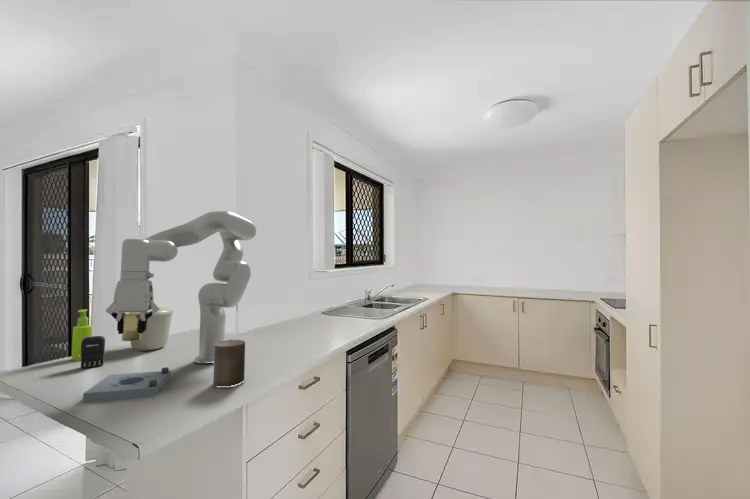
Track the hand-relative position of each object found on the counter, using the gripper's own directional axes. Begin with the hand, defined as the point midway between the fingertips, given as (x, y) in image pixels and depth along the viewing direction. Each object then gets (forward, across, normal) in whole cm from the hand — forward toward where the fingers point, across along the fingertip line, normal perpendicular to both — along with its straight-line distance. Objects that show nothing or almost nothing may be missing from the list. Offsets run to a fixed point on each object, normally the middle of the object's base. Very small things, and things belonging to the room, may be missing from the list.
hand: (131, 332), depth 107 cm
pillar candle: (+18, -30, +3) cm, 35 cm away
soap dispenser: (+18, +31, -37) cm, 51 cm away
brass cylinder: (+2, 0, 0) cm, 2 cm away
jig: (+18, -1, +2) cm, 18 cm away
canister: (+18, +11, -50) cm, 54 cm away
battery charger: (+18, +22, -25) cm, 37 cm away
